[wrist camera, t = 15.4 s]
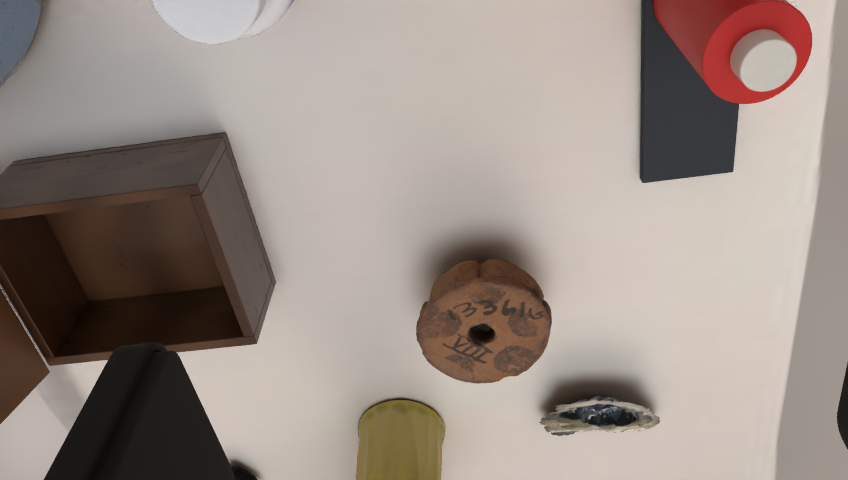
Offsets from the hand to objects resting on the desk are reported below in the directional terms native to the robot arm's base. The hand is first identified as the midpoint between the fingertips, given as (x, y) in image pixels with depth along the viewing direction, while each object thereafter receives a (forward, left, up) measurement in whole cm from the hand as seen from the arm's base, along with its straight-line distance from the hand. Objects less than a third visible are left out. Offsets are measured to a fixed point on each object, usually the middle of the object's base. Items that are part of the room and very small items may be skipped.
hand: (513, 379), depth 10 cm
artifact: (+20, -1, -28) cm, 35 cm away
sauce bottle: (+4, +10, -28) cm, 30 cm away
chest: (+13, -20, -28) cm, 37 cm away
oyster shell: (+32, +5, -26) cm, 42 cm away
